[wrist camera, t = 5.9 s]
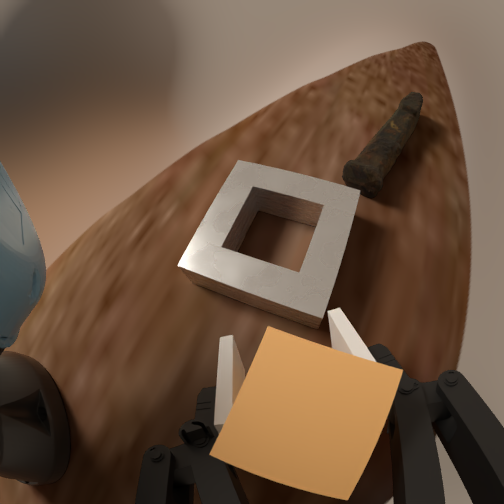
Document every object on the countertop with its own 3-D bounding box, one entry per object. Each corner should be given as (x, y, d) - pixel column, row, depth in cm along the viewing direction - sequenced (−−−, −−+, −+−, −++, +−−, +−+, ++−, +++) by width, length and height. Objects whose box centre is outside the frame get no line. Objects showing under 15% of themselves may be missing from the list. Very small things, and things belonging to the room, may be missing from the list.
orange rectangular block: (261, 413, 18) (209, 454, 6) (282, 365, 20) (267, 326, 8) (312, 431, 17) (347, 500, 5) (332, 382, 19) (403, 369, 6)
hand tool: (372, 207, 25) (384, 174, 21) (339, 185, 27) (344, 151, 23) (431, 124, 30) (439, 98, 26) (406, 110, 32) (413, 84, 28)
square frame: (192, 282, 24) (177, 265, 21) (244, 184, 28) (238, 160, 25) (317, 329, 21) (322, 318, 18) (353, 214, 25) (360, 190, 22)
